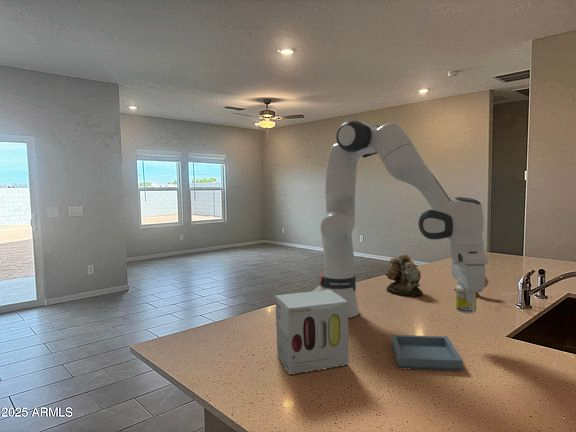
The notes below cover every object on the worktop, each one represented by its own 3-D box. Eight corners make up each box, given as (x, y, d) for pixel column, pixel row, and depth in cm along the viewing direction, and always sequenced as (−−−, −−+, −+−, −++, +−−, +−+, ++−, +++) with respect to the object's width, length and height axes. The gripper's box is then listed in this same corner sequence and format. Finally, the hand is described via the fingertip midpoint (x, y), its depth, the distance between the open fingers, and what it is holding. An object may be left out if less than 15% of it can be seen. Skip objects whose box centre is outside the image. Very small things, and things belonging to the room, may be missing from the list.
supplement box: (289, 377, 100) (286, 308, 98) (276, 355, 113) (274, 294, 111) (350, 366, 105) (349, 300, 103) (331, 346, 118) (330, 288, 116)
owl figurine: (378, 291, 176) (377, 253, 174) (394, 286, 183) (393, 250, 182) (413, 299, 162) (413, 258, 160) (429, 293, 169) (428, 254, 168)
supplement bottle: (465, 307, 119) (466, 275, 118) (480, 312, 114) (480, 279, 113) (451, 309, 117) (452, 277, 116) (466, 315, 112) (466, 281, 111)
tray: (398, 368, 102) (398, 358, 102) (391, 343, 118) (391, 334, 118) (462, 371, 100) (462, 360, 99) (447, 345, 115) (447, 336, 115)
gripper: (446, 246, 125) (446, 289, 126) (465, 259, 105) (464, 309, 106) (467, 246, 124) (466, 289, 125) (490, 259, 104) (489, 310, 105)
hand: (465, 298), depth 115 cm, fingers closed on supplement bottle, 5 cm apart
